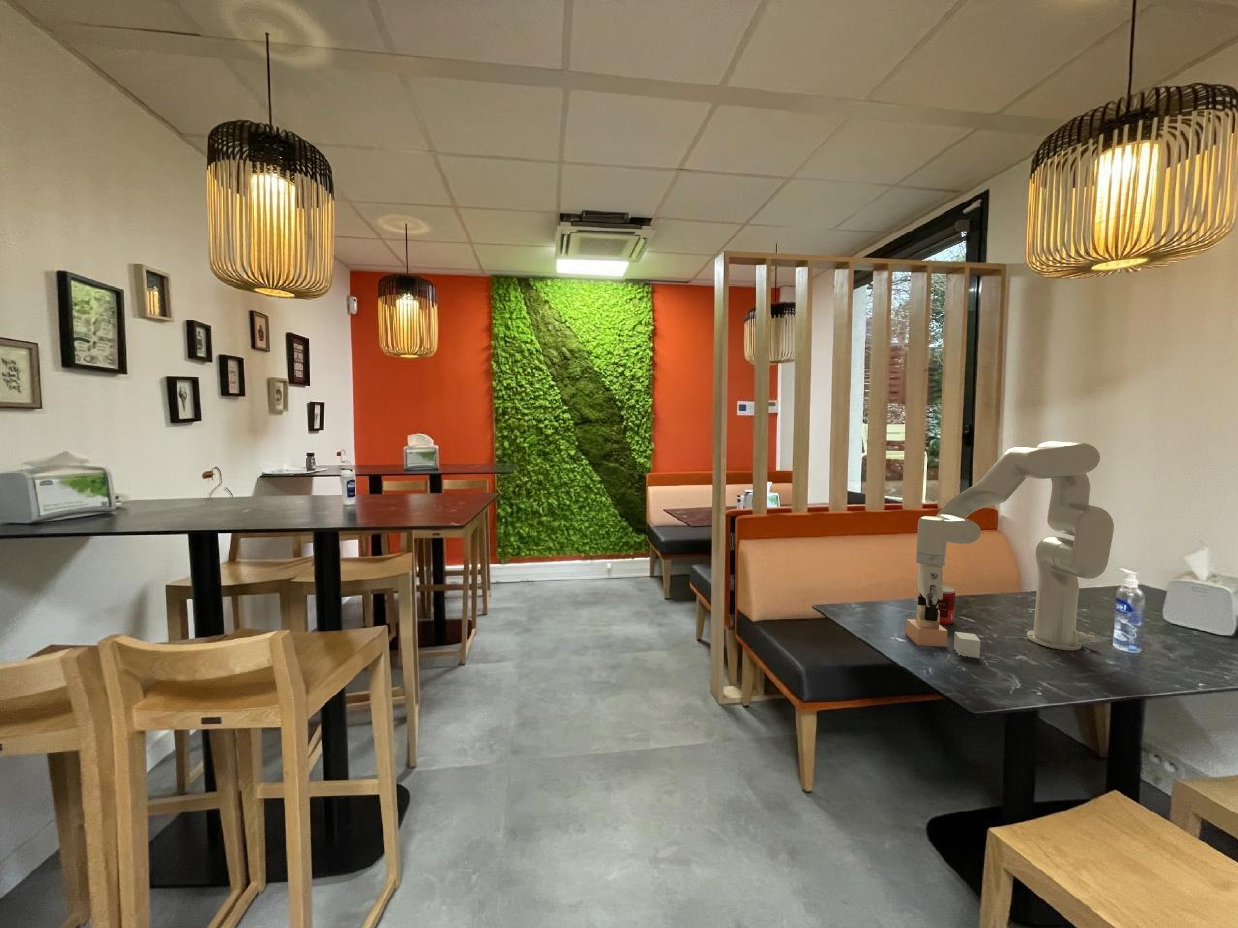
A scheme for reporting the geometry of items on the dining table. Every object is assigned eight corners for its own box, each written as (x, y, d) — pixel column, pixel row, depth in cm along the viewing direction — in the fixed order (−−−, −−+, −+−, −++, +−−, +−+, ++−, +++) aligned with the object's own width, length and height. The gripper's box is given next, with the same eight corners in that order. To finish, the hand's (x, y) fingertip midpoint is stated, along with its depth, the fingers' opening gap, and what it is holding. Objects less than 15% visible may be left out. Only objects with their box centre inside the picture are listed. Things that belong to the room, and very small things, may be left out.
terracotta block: (933, 636, 162) (934, 620, 161) (946, 647, 154) (947, 630, 153) (905, 634, 163) (906, 618, 162) (917, 645, 155) (918, 629, 154)
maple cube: (934, 622, 159) (935, 606, 159) (939, 628, 155) (939, 612, 154) (916, 620, 161) (917, 604, 160) (919, 626, 156) (920, 610, 156)
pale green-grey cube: (973, 650, 151) (974, 634, 151) (979, 658, 146) (980, 640, 146) (953, 648, 153) (954, 631, 152) (958, 655, 148) (959, 638, 148)
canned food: (945, 616, 178) (947, 584, 177) (958, 625, 170) (960, 592, 169) (921, 615, 179) (923, 583, 178) (933, 624, 171) (935, 591, 170)
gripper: (953, 567, 147) (949, 626, 148) (937, 552, 163) (934, 606, 164) (922, 564, 149) (918, 623, 151) (910, 550, 166) (907, 603, 167)
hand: (927, 614), depth 158 cm, fingers open, 9 cm apart
